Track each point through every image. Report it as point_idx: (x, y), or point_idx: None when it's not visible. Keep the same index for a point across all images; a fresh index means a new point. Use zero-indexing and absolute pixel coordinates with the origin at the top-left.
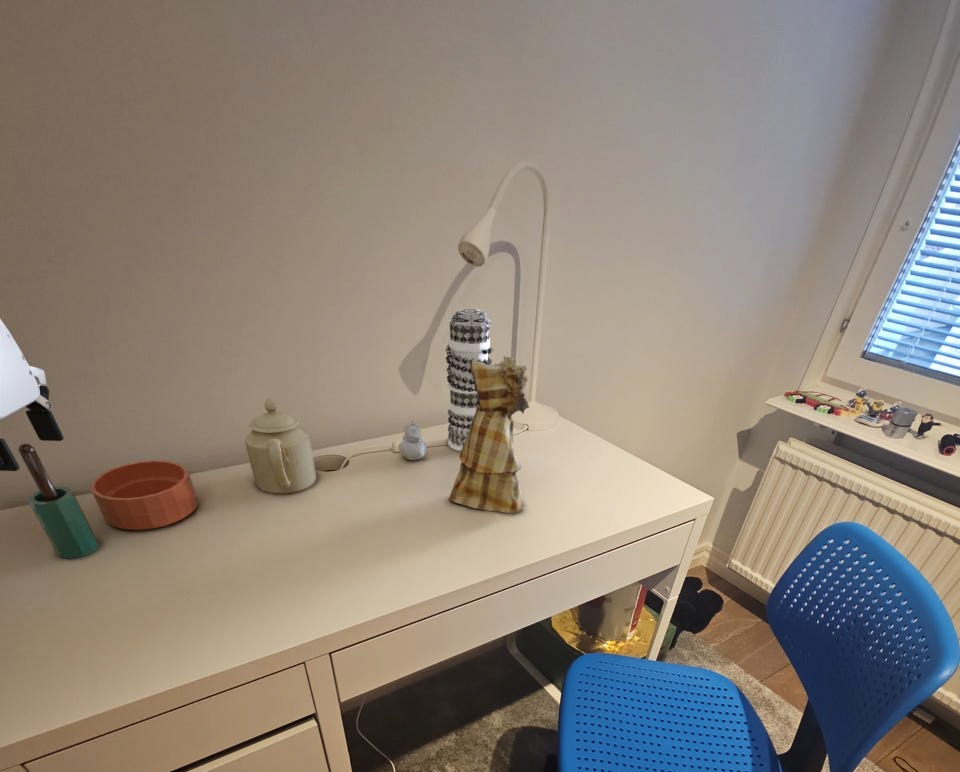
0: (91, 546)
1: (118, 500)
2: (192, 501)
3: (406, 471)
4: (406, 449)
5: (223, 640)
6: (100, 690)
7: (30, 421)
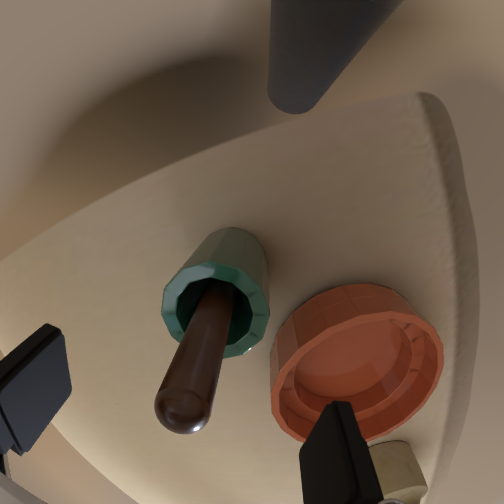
0: None
1: (275, 380)
2: None
3: None
4: None
5: (63, 415)
6: (4, 335)
7: (344, 463)
